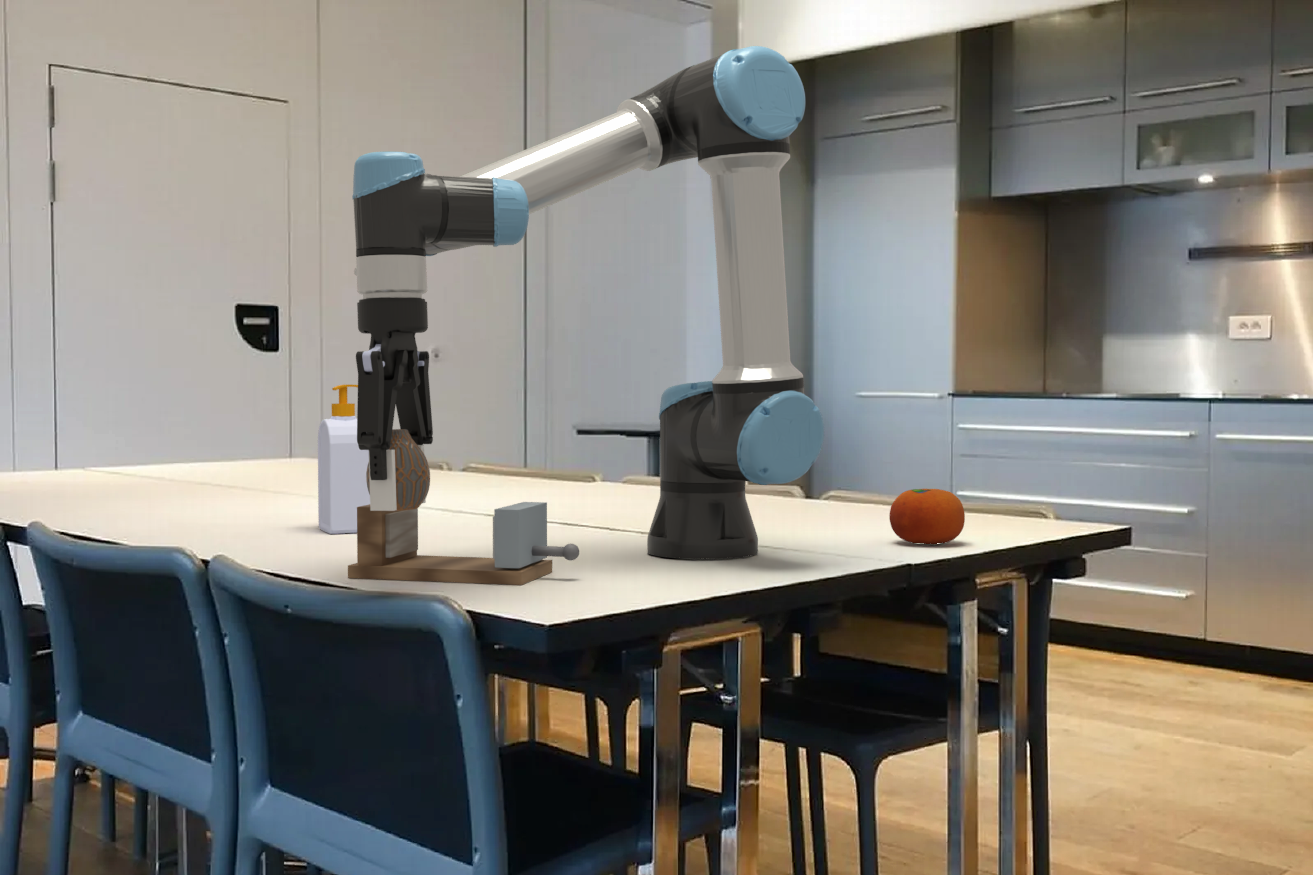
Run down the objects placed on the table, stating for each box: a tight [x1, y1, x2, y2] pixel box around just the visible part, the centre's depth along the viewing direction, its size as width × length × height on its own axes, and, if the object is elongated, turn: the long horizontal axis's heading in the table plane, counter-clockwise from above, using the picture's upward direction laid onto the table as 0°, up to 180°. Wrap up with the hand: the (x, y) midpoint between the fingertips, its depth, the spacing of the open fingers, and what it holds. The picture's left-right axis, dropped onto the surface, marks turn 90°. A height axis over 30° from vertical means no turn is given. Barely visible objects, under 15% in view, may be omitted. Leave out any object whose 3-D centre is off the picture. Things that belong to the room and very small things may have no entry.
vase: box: [366, 428, 431, 511], centre depth 151 cm, size 7×7×9 cm
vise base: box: [347, 505, 553, 586], centre depth 166 cm, size 22×11×8 cm, turn 76°
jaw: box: [492, 501, 580, 568], centre depth 163 cm, size 9×10×7 cm
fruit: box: [888, 488, 966, 545], centre depth 198 cm, size 11×10×8 cm
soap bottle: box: [317, 384, 370, 535], centre depth 214 cm, size 9×7×23 cm
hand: (398, 506), depth 151 cm, fingers closed on vase, 7 cm apart
